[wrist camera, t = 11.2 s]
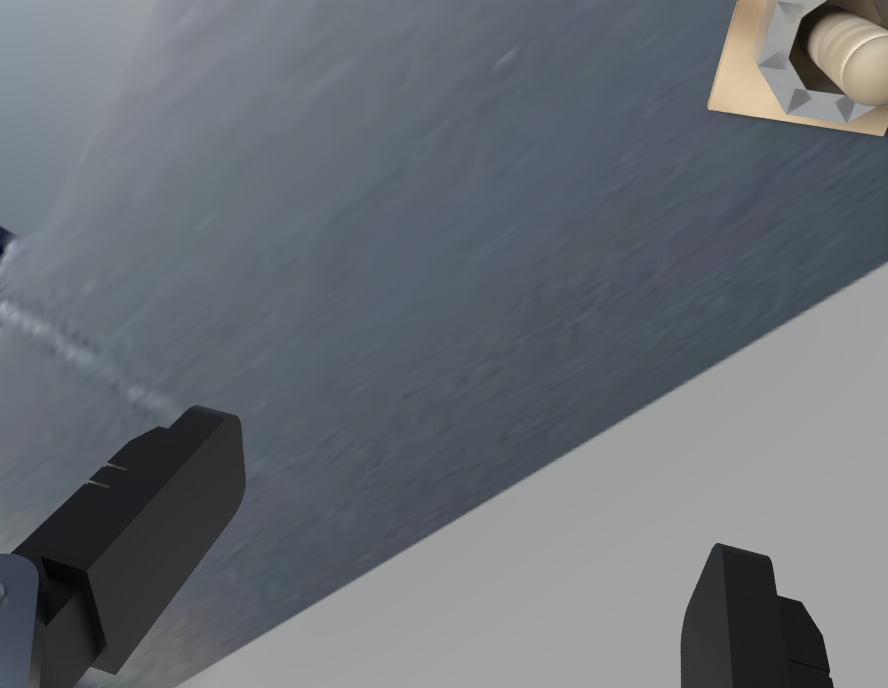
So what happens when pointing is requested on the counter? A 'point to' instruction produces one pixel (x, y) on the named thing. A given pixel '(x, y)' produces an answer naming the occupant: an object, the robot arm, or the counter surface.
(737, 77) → the post stand
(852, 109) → the ring
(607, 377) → the counter surface
